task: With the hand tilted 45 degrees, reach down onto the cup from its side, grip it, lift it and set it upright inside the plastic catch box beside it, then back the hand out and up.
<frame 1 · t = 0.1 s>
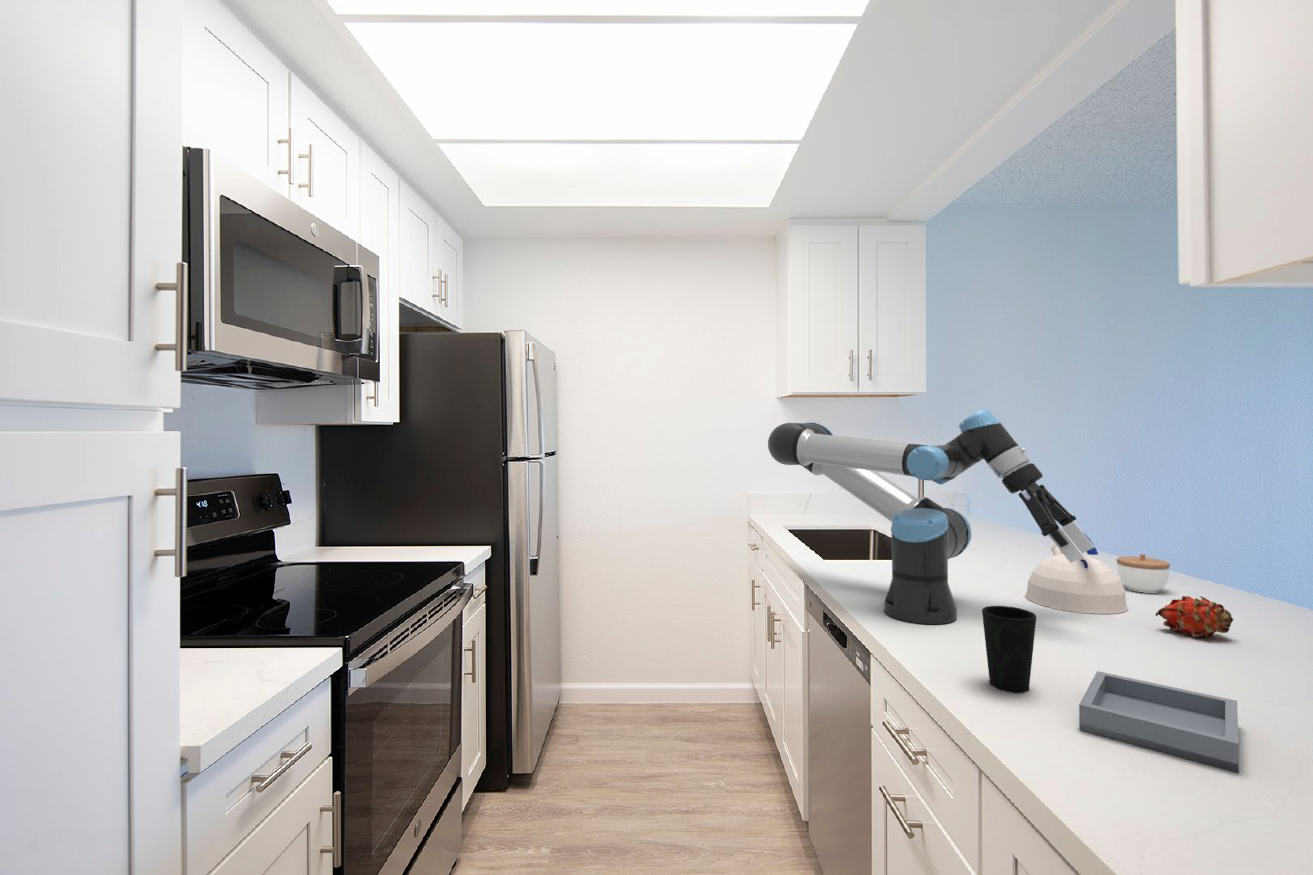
hand: (1083, 555, 128), 15 cm above the countertop, tool tilted 35°, fingers open, 13 cm apart
dragon fruit: (1193, 636, 123), on the countertop
lidded jar: (1142, 591, 158), on the countertop
cup: (1009, 687, 99), on the countertop
catch box: (1158, 727, 85), on the countertop
kettle: (1074, 603, 148), on the countertop
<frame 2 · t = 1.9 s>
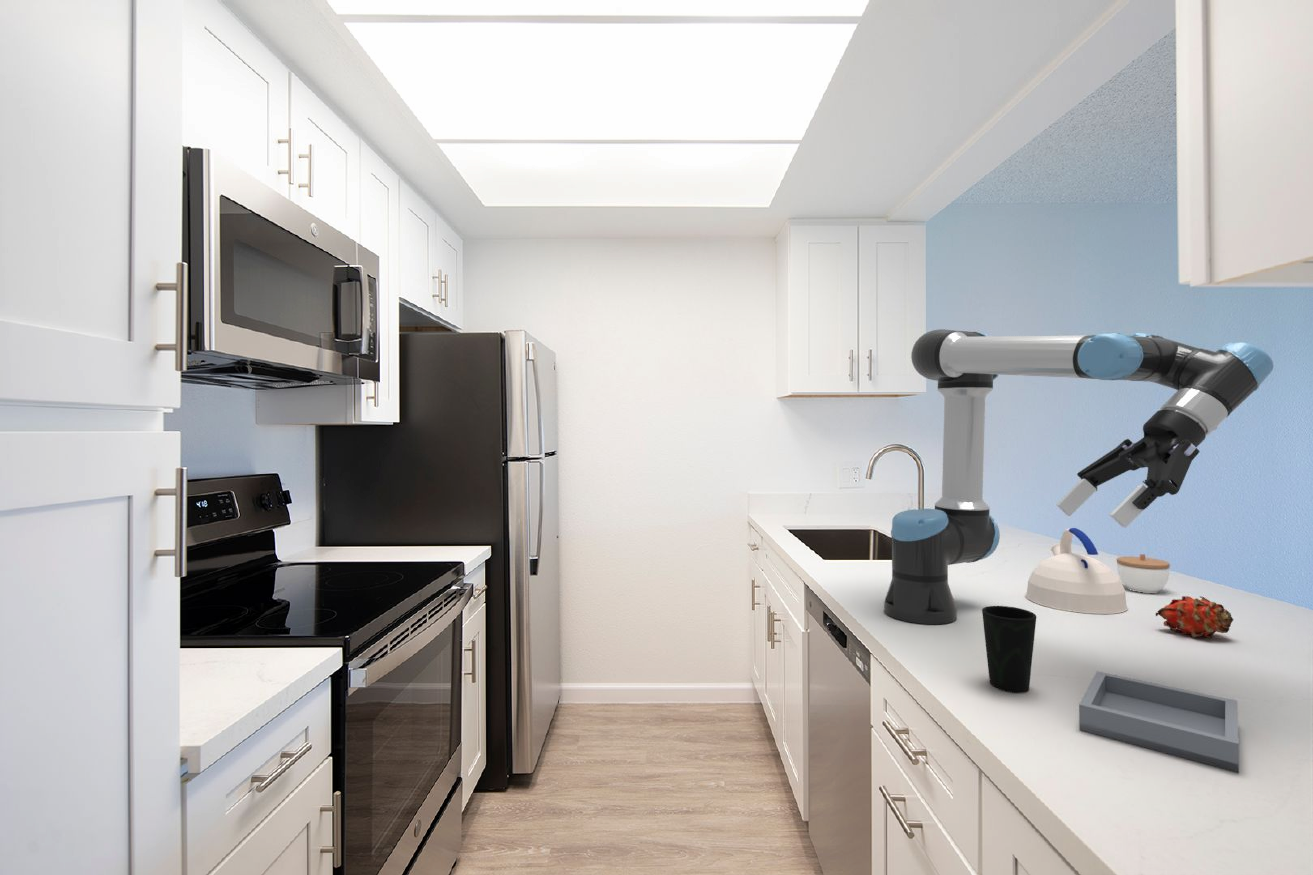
hand: (1088, 515, 101), 27 cm above the countertop, tool tilted 45°, fingers open, 13 cm apart
nothing on the countertop moved.
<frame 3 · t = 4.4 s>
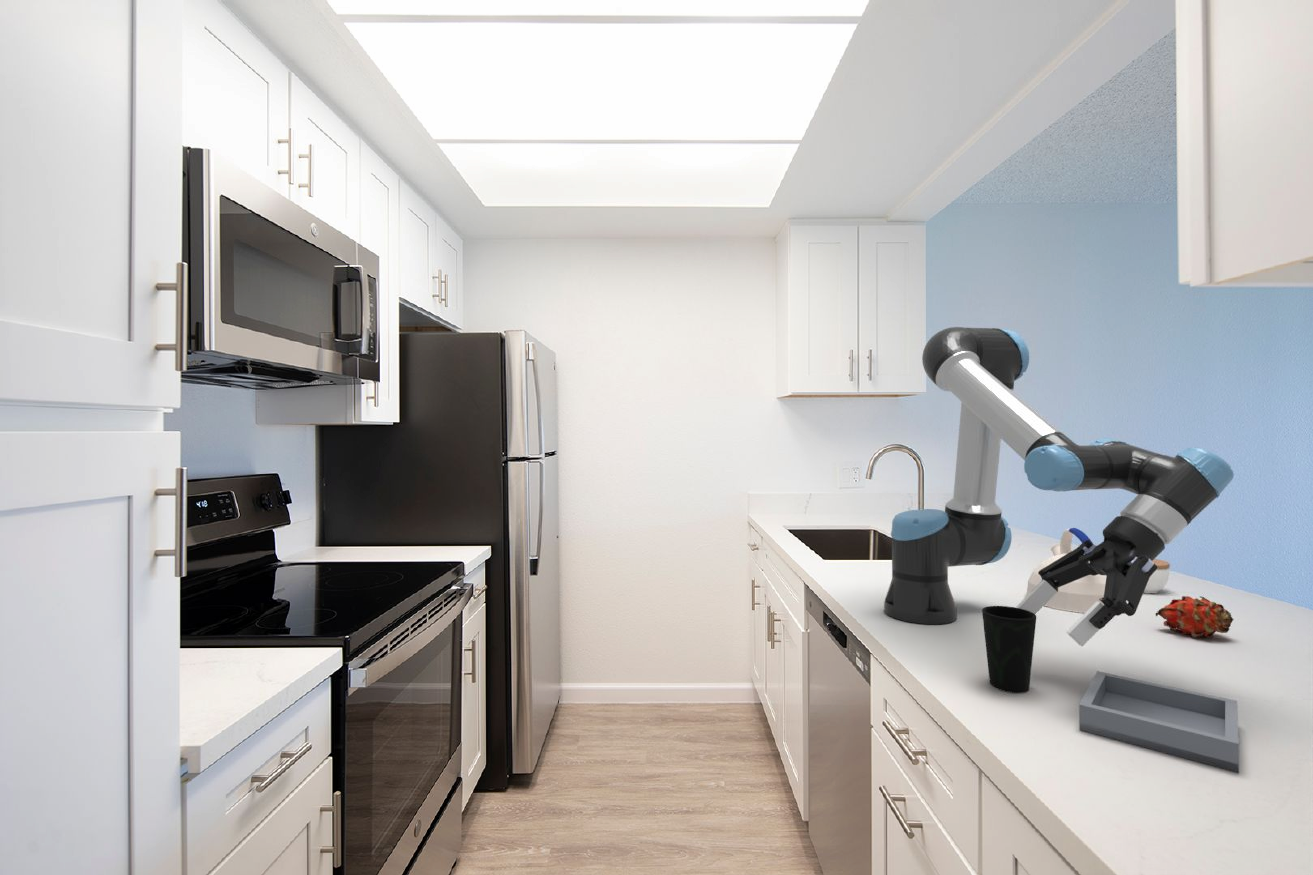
hand: (1046, 625, 98), 10 cm above the countertop, tool tilted 45°, fingers open, 13 cm apart
nothing on the countertop moved.
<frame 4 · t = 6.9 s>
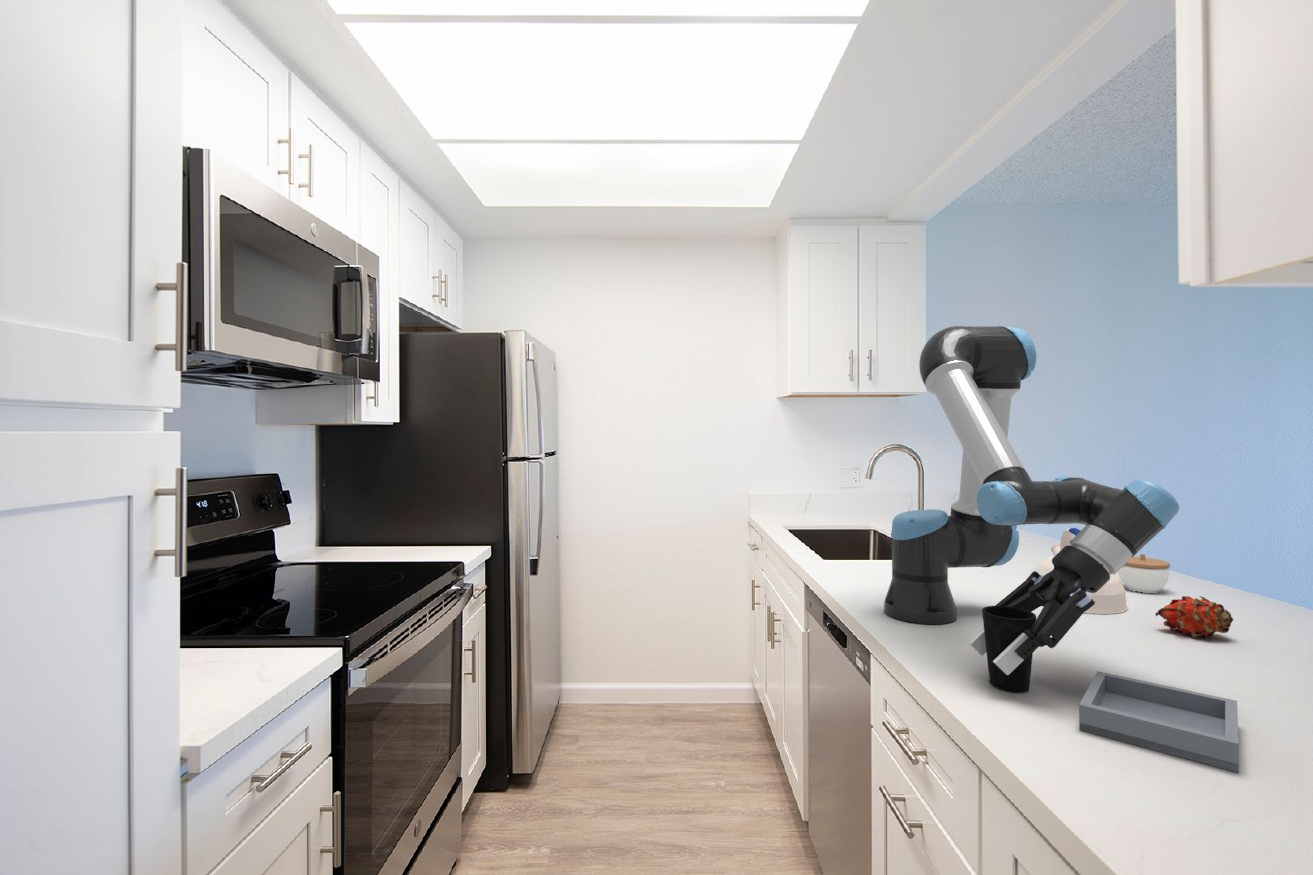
hand: (987, 658, 100), 4 cm above the countertop, tool tilted 45°, fingers closed on cup, 8 cm apart
cup: (1009, 686, 99), on the countertop, touching gripper
everything else where it was.
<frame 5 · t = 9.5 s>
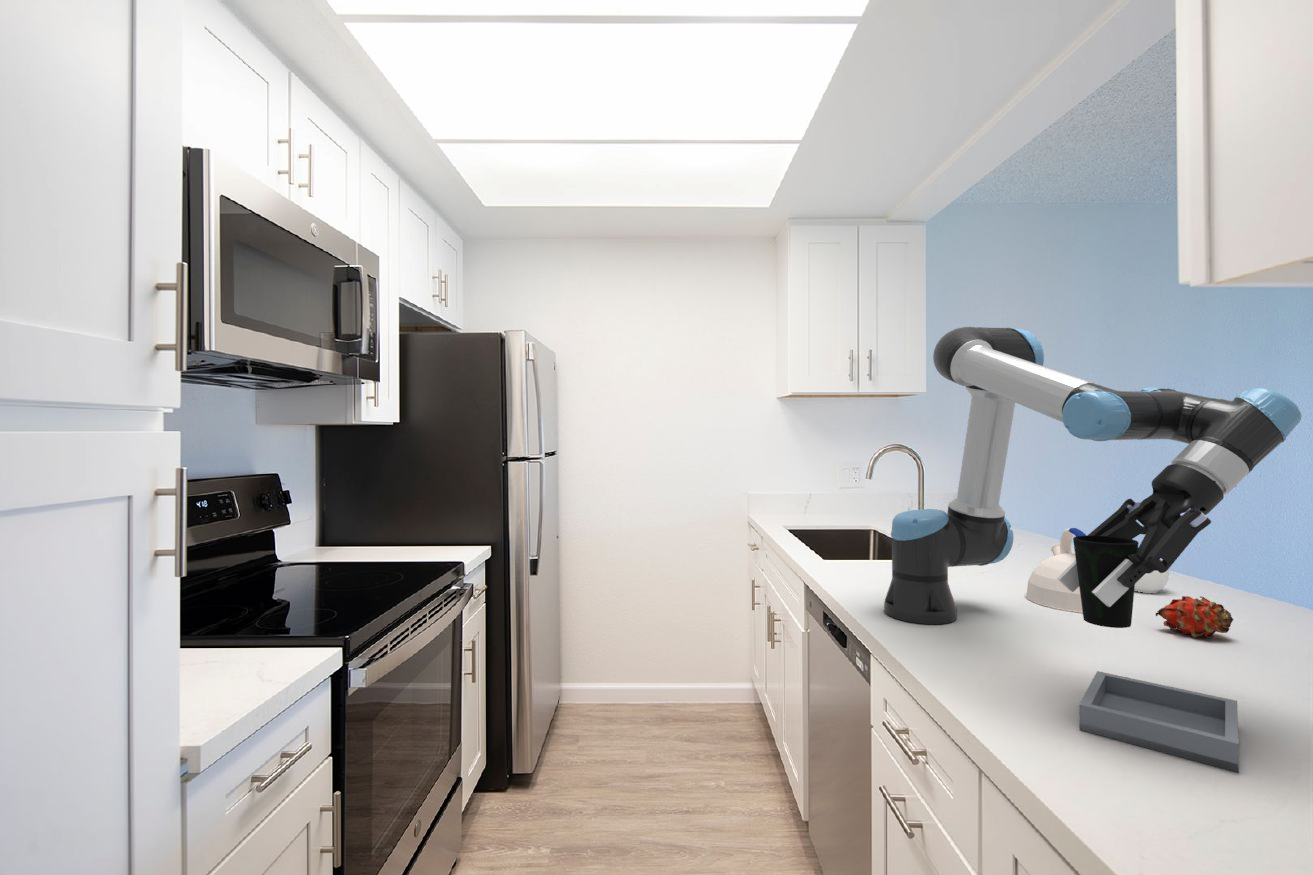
hand: (1082, 591, 89), 18 cm above the countertop, tool tilted 45°, fingers closed on cup, 8 cm apart
cup: (1107, 623, 89), point 13 cm above the countertop, touching gripper
everything else where it was.
when the fingers open (7 cm above the countertop, at t = 12.2 s): cup drops 1 cm, resting on catch box.
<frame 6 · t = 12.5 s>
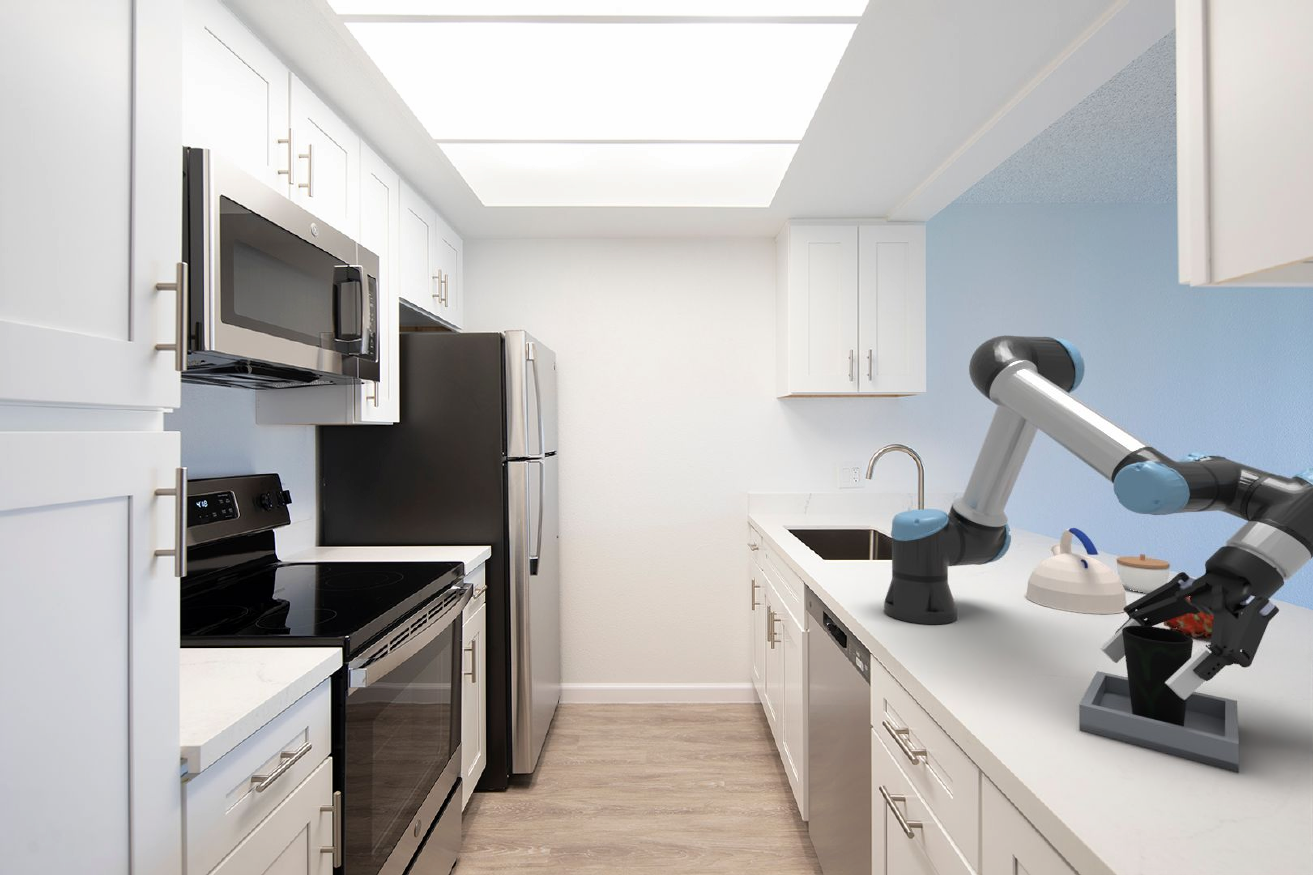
hand: (1138, 672, 85), 8 cm above the countertop, tool tilted 45°, fingers open, 12 cm apart
cup: (1157, 721, 85), point 1 cm above the countertop, touching catch box
everything else where it was.
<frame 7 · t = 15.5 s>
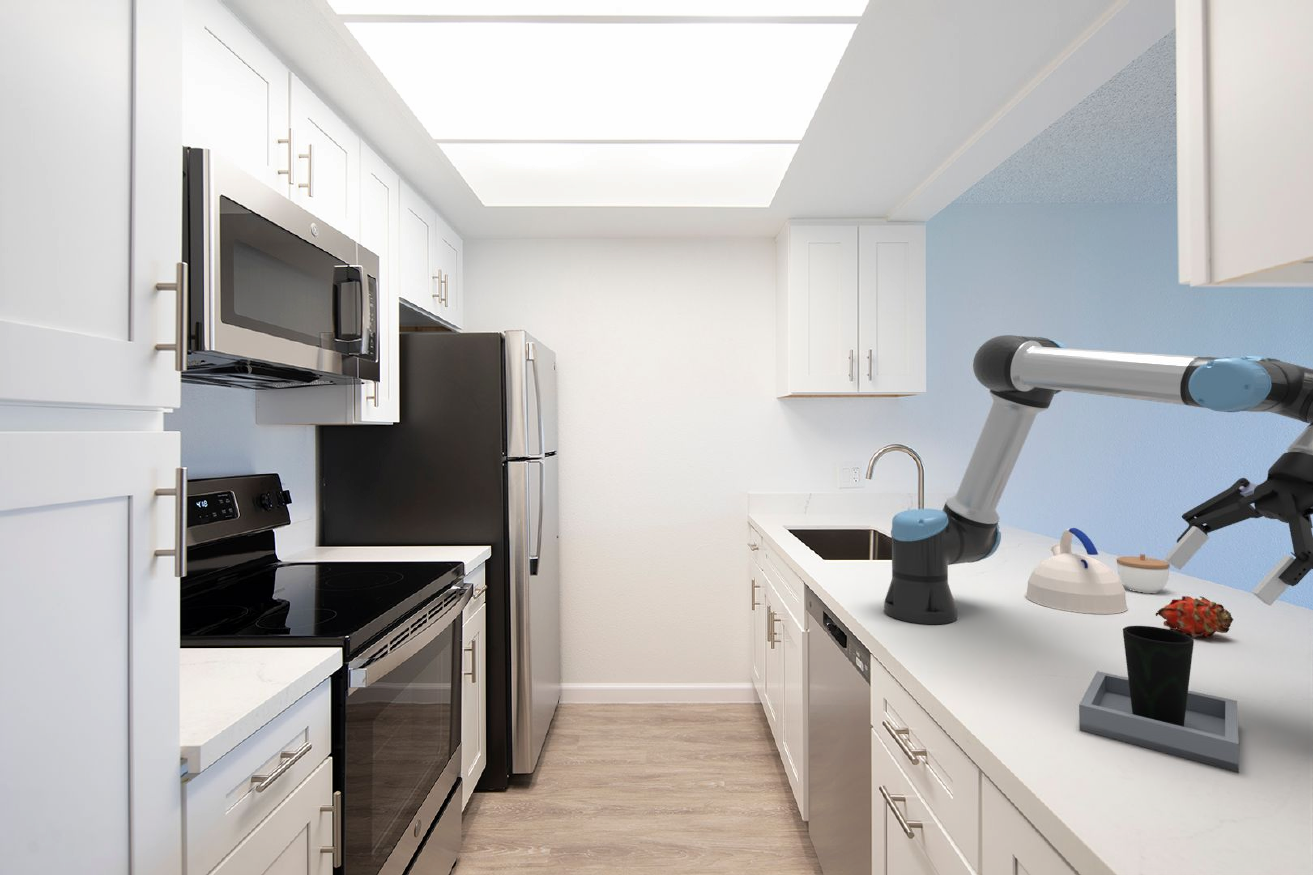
hand: (1212, 580, 88), 20 cm above the countertop, tool tilted 40°, fingers open, 13 cm apart
nothing on the countertop moved.
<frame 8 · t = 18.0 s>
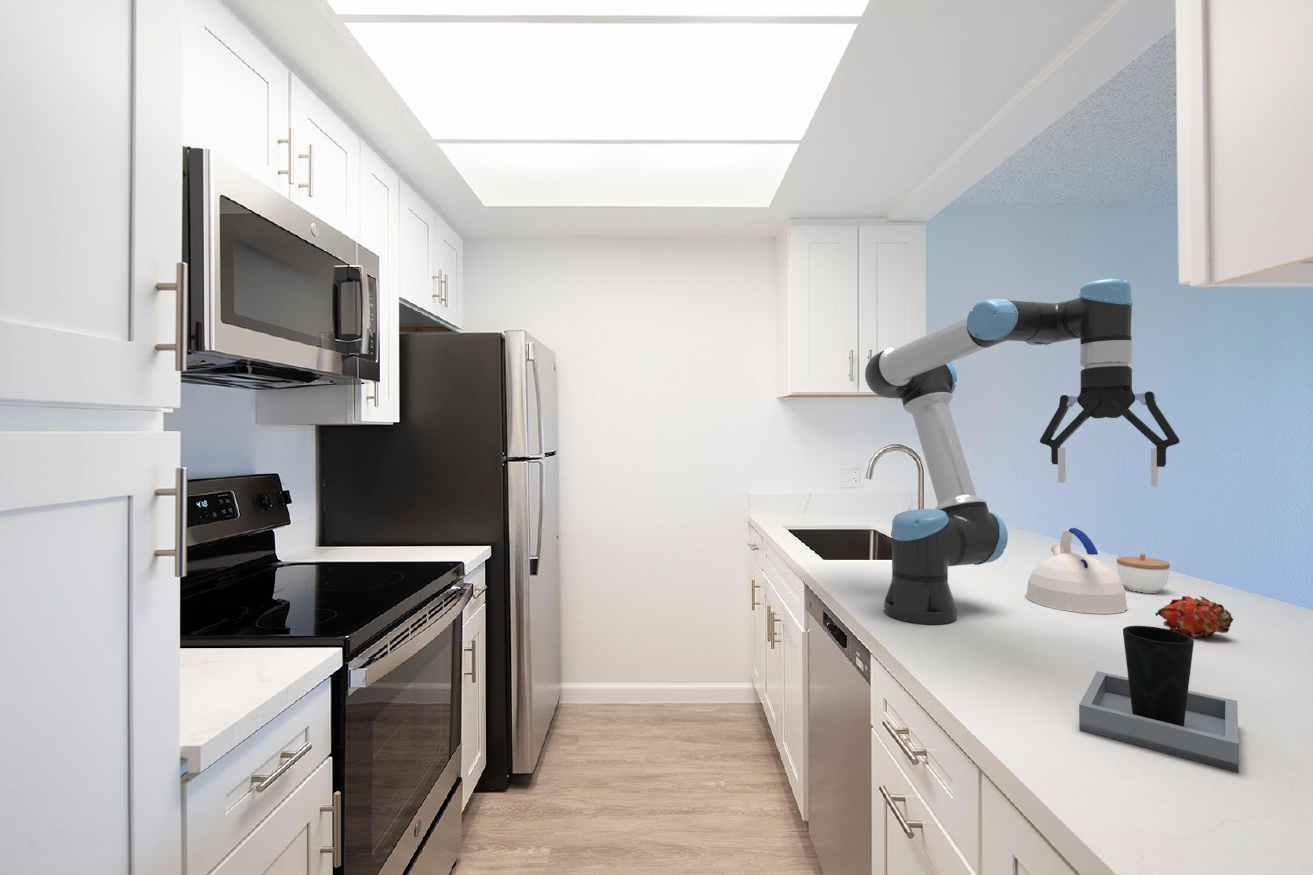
hand: (1106, 484, 111), 32 cm above the countertop, tool pointing down, fingers open, 13 cm apart
nothing on the countertop moved.
at the end: cup inside the target area on the catch box (0.2 cm from its centre), point 0.8 cm above the catch box's base; cup tilted 0°; the gripper is holding nothing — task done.
